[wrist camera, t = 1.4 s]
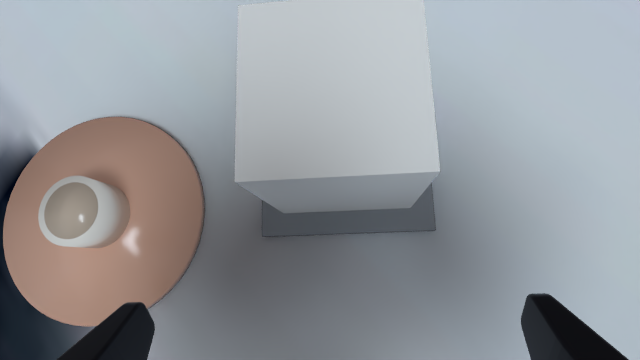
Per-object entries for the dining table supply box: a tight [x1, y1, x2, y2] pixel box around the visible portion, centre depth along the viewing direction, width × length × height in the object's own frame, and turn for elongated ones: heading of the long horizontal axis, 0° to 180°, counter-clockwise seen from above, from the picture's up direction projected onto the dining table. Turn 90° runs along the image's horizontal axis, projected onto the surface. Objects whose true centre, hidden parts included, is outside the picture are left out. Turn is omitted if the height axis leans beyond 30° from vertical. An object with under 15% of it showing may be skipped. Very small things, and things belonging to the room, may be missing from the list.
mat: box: [262, 183, 436, 237], centre depth 24 cm, size 10×10×1 cm
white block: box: [234, 0, 440, 213], centre depth 19 cm, size 7×7×9 cm
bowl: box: [38, 176, 130, 248], centre depth 23 cm, size 4×4×2 cm
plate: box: [3, 117, 204, 326], centre depth 24 cm, size 13×13×1 cm
